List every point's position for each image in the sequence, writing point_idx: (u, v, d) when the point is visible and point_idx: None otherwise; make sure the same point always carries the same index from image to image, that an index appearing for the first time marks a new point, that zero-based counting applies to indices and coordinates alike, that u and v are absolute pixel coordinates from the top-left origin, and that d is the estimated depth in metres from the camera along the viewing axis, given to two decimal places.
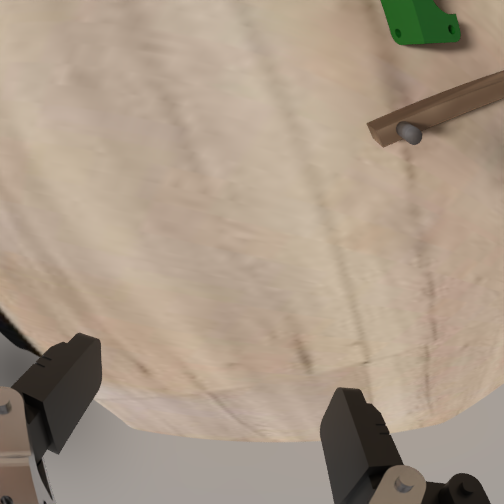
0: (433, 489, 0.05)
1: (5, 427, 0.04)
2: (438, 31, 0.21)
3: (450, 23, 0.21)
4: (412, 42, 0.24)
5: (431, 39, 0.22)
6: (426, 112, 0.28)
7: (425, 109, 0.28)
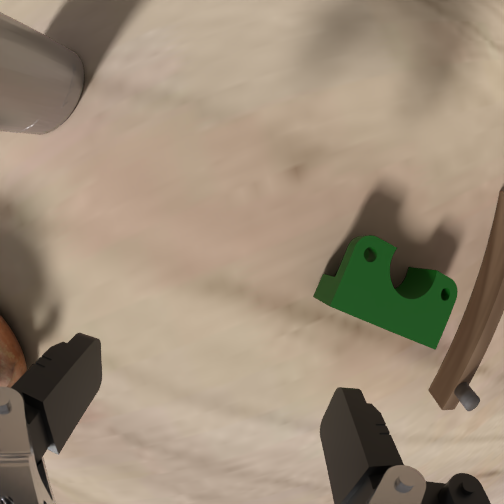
0: (433, 489, 0.05)
1: (5, 427, 0.04)
2: (437, 319, 0.23)
3: (440, 290, 0.23)
4: None
5: (437, 336, 0.23)
6: (470, 363, 0.25)
7: (467, 360, 0.26)
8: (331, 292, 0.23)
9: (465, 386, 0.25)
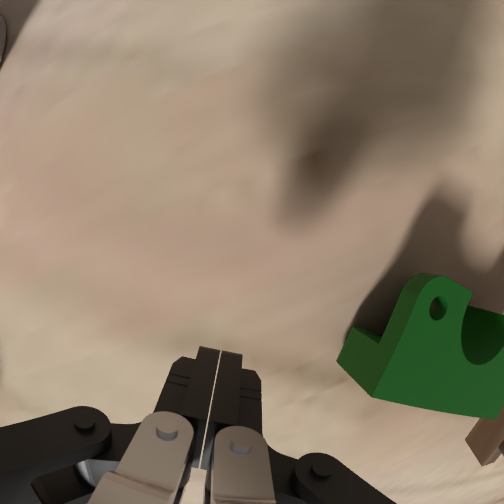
0: (287, 464, 0.06)
1: (158, 454, 0.05)
2: None
3: None
4: None
5: (501, 403, 0.13)
6: None
7: None
8: (373, 370, 0.13)
9: None
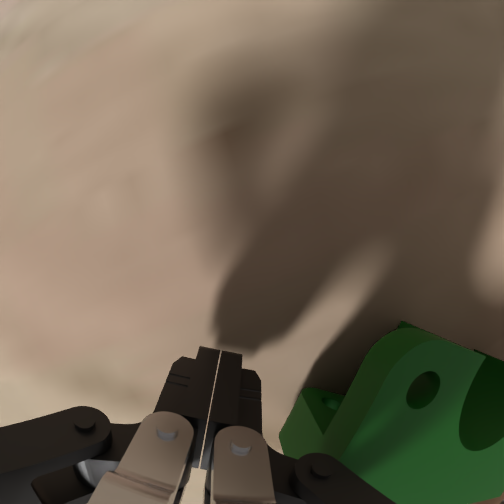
0: (287, 464, 0.06)
1: (158, 454, 0.05)
2: None
3: None
4: None
5: None
6: None
7: None
8: None
9: None
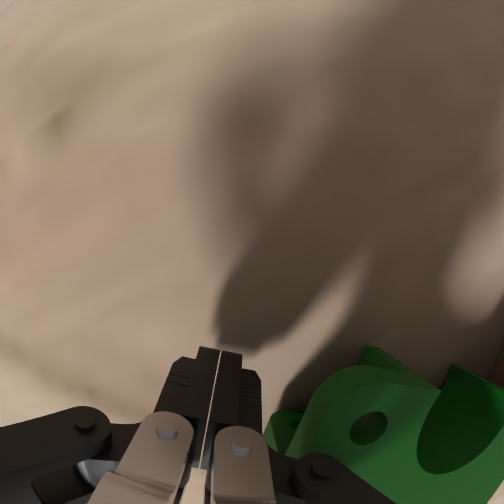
0: (287, 464, 0.06)
1: (158, 454, 0.05)
2: (498, 471, 0.08)
3: None
4: None
5: (492, 491, 0.08)
6: None
7: None
8: None
9: None
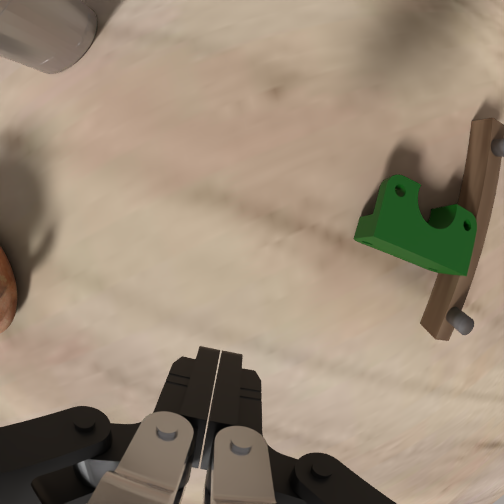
0: (287, 464, 0.06)
1: (159, 454, 0.05)
2: (464, 247, 0.25)
3: (462, 221, 0.25)
4: (453, 274, 0.27)
5: (466, 264, 0.25)
6: (459, 284, 0.27)
7: (456, 281, 0.27)
8: (372, 225, 0.25)
9: (457, 310, 0.27)
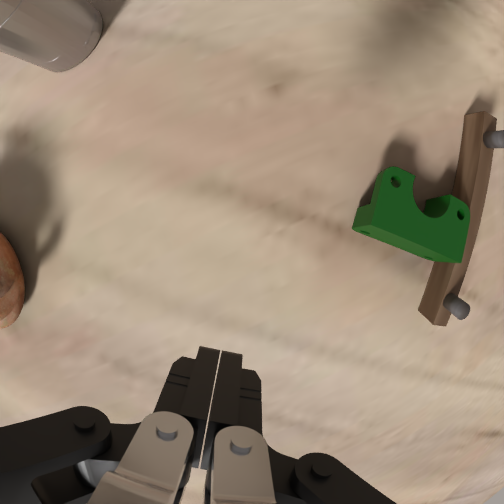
0: (287, 464, 0.06)
1: (158, 454, 0.05)
2: (458, 235, 0.26)
3: (456, 211, 0.26)
4: (448, 261, 0.28)
5: (461, 251, 0.26)
6: (454, 270, 0.28)
7: (451, 268, 0.29)
8: (369, 214, 0.26)
9: (453, 295, 0.28)
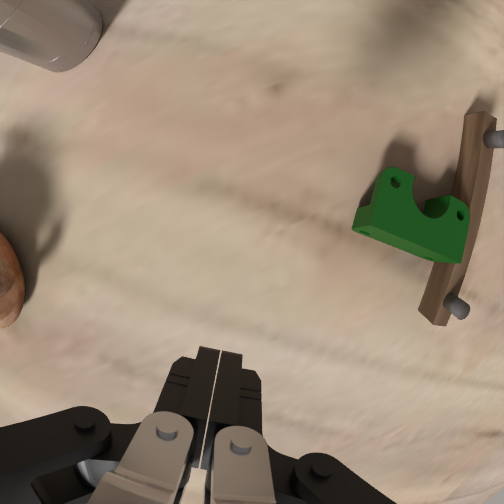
0: (287, 464, 0.06)
1: (158, 454, 0.05)
2: (458, 236, 0.26)
3: (456, 211, 0.26)
4: (448, 262, 0.28)
5: (460, 252, 0.26)
6: (454, 270, 0.28)
7: (451, 268, 0.29)
8: (369, 215, 0.26)
9: (453, 295, 0.28)
